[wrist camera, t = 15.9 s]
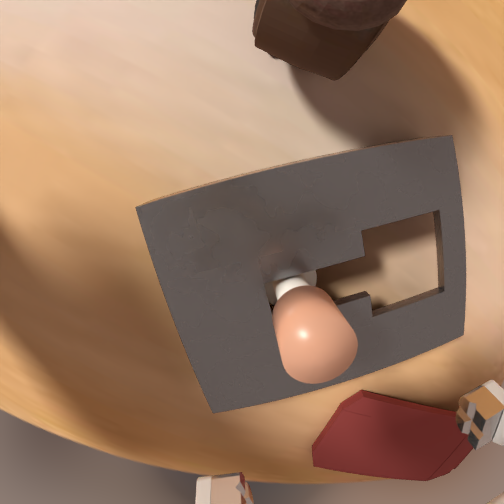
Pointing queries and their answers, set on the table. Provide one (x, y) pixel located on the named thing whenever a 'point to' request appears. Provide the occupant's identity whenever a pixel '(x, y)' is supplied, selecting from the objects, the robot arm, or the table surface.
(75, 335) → the table surface
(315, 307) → the peg
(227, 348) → the keyhole board
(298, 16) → the alarm clock
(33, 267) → the table surface
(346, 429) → the carton
